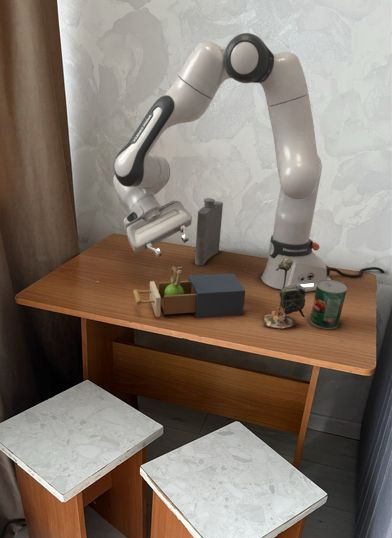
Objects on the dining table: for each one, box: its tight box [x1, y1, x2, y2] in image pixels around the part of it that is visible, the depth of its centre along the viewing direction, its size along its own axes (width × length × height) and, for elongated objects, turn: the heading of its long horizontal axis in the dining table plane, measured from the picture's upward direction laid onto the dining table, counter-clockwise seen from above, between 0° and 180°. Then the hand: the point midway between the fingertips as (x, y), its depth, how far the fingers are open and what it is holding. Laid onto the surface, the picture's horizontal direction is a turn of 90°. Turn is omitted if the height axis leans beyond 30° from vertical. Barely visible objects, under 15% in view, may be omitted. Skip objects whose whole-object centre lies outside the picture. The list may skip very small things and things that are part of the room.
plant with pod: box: [262, 256, 306, 330], centre depth 130 cm, size 8×11×20 cm
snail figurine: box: [164, 265, 184, 295], centre depth 135 cm, size 5×6×12 cm
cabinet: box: [187, 273, 246, 319], centre depth 139 cm, size 13×11×7 cm
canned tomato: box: [309, 279, 348, 330], centre depth 134 cm, size 8×8×11 cm
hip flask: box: [194, 197, 224, 266], centre depth 167 cm, size 16×4×20 cm, turn 155°
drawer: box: [132, 280, 197, 318], centre depth 136 cm, size 17×10×6 cm, turn 104°
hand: (173, 248), depth 146 cm, fingers open, 8 cm apart
